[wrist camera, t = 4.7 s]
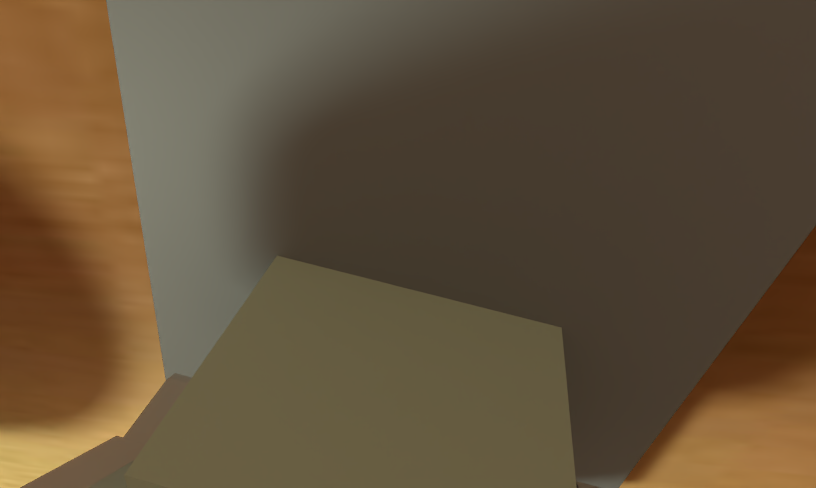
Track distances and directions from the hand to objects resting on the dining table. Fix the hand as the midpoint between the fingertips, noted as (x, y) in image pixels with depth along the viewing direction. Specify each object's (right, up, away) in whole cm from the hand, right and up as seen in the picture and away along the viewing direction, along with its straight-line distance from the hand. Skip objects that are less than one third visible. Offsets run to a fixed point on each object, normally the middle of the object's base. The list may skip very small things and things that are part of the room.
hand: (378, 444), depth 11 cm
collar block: (0, +1, +1) cm, 2 cm away
